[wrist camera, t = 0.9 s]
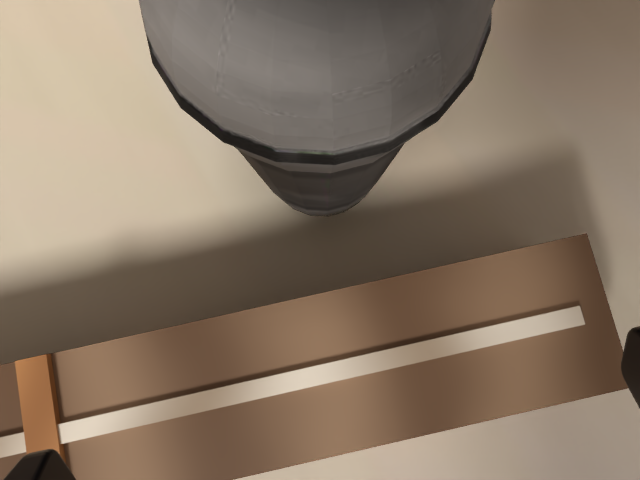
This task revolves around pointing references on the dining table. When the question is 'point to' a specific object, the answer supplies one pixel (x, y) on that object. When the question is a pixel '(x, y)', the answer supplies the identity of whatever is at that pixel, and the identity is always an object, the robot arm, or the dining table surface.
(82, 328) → the dining table surface
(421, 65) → the beverage cup
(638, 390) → the robot arm
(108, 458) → the slotted wooden bar
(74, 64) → the dining table surface
